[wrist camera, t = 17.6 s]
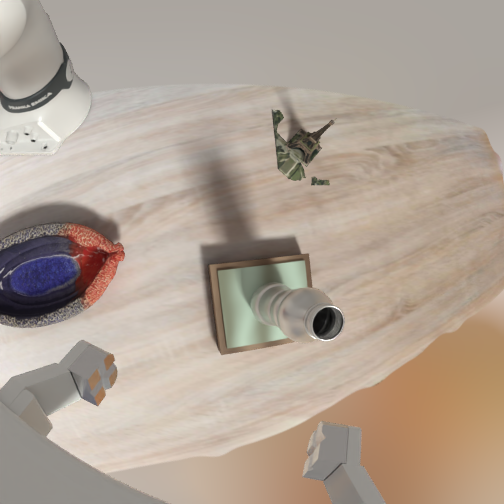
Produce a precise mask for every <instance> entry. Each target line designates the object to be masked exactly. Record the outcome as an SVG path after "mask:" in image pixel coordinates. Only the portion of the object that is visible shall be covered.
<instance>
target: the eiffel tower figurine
mask: <svg viewBox="0 0 504 504" xmlns="http://www.w3.org/2000/svg"><path fill="white" fill-rule="evenodd" d="M272 114H273V124H274V134H275V142H276V152H277V163H278V169H279V170H280V171H281V172H282V173H283V174H284V175H286V176H287V178H288V179H291V180H294V181H296V180H302V179H303V178H306V177H305V174H304V169H303V167H302V165H301V162H302V163H303V164H304V165H305V166H306V167H307V165H308V164H309V163H310V162H311V161H312V159H313V158H314V157H315V156H316V155H317V153H318V152H319V151H320V150H321V149H322V148H321V147H320V145H319V143H320V142H319V139H320V138H321V137H320V136H321V135H322V134H323V133H324V132H325V131H326V130H327V129H328V128H329V127H330V126H331V125H333V124H334V121H335V120H336V119H335V120H334V121H333V120H331V121H330V122H329V123H328V124H327V125H326V126H324V127H323V128H321V129H320V130H318V131H317V132H313V133H309V132H308V133H306V132H305V131H303V130H302V129H300V130H299V131H298V132H297V134H296V135H295V136H294V137H293V138H292V139H291V140H290V141H289V142H288V143H287V142H286V141H285V140H284V139H283V138H282V137H281V136H280V135H279V134H278V133H277V127H278V124H279V123H280V122H281V120H282V119H283V118H284V117H283V115H282V113H281V112H280V110H272ZM300 161H301V162H300ZM311 185H330V184H329V180H323V181H322V180H320V179H319V180H317V178H316V177H312V184H311Z"/></svg>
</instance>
